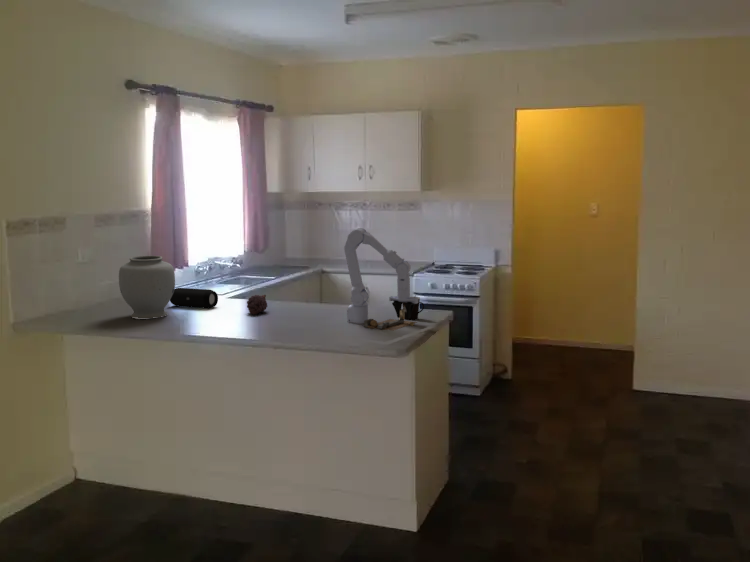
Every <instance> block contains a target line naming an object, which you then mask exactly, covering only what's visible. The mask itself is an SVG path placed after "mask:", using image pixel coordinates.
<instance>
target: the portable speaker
mask: <svg viewBox="0 0 750 562" xmlns="http://www.w3.org/2000/svg"><path fill="white" fill-rule="evenodd" d="M169 302H170V303H171V304H172V305H174V306H175V307H183V308H192V309H194V308H195V309H196V308H197V309H211V308H212V309H213V308H215V307H216V306H217V304H218V302H219V295H218V293H217V292H216V291H215V290H213V289H209V288H207V289H206V288H190V287H189V288H187V287H177V288H176V287H175V289H174V293H173V295H172V297H171V299H170V301H169Z"/></svg>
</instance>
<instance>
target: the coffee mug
mask: <svg viewBox="0 0 750 562" xmlns="http://www.w3.org/2000/svg"><path fill="white" fill-rule="evenodd" d="M410 297H411V298H415V299H418V303H417V304H415V306H414V308H413V310H412V313H411V317H410V318H409V319H407V317H406V307H405V304H406V303H407V302H402V309H404V316H405V319H404V321H417V320H418V318H419V314H420V313H421V312H423V310H424V309H425V304H424V303H423V302H422V301H420V300H421V298H420V297H419V296H410ZM420 304H421V305H422V308H421V309H420Z"/></svg>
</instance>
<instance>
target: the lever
mask: <svg viewBox="0 0 750 562" xmlns="http://www.w3.org/2000/svg"><path fill="white" fill-rule="evenodd" d="M394 320H395V321H391V322H383V321H382V322H383V324H381V325H378V328H380V329H379V330H384V329H383V328H386V327H390V326H393V325H397V324H400V323H403V322H404V321H405V316H404V309H403V308H401V309H399V318H398V319H394Z"/></svg>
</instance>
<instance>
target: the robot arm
mask: <svg viewBox="0 0 750 562" xmlns="http://www.w3.org/2000/svg"><path fill="white" fill-rule="evenodd" d="M360 245H369V246H371V248H373V249H375V250H376V251H377V252H378V253H379V254H381V256H382V258H383V261H385V263H387V264H388V265H389V266H390V267H391V268H393V269H394V270H395V273H396V274H397V276H396V277H397V278H396V283H397V284H396V285H397V286H396V287H397V289H396V290H397V292H396V294H397V296H393V295H390V296H389V297H388V298H389V300H388V301H389V302H391V305H392V307H393V308H394V311H395V313H396V316H397V318H398V319H399V309H402V308H403V305H402V302H407V303H406V304H405V307H406V317H407V319H409V318H410V317H411V313H412V310H413V308H414V306H415V304H417V303H418V299H415V298H411V297H412V296H411V280H410V279H411V278H410V271H411V264H410V263H409V261H408V260H405V258H402V257H400V256H399V255H398V254H397V251H396V250H394V251H393V250H392V249H387V248H386V247H385V246H384V245H383V244H382V243H381V242H380V241H379V240H378V239H377V238H375V236H373V235H372V234H371V232H369V231H367V230H366V229H365V228H362V227H360V228H357V229H353V230H351V231H350V233H349V234H348V235H347V239H346V242H345V244H344V247H343V250H344V254H345V259H346V265H347V268H348V274H349V279H350V283H351V290H350V291H351V296H350V302H351V304H349V305H348V307H347V309H346V322H347V323H353V324H358V325H359V324H364V321H365V320H368V319H369V304H368V302H367V301H368V300H369V296H370V295H369V292H368V291H367V290H366V287H365V285H364V283H363V278H362V273H361V270H360V263H359V259H358V254H357V249H358V248H359V247H360Z"/></svg>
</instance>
